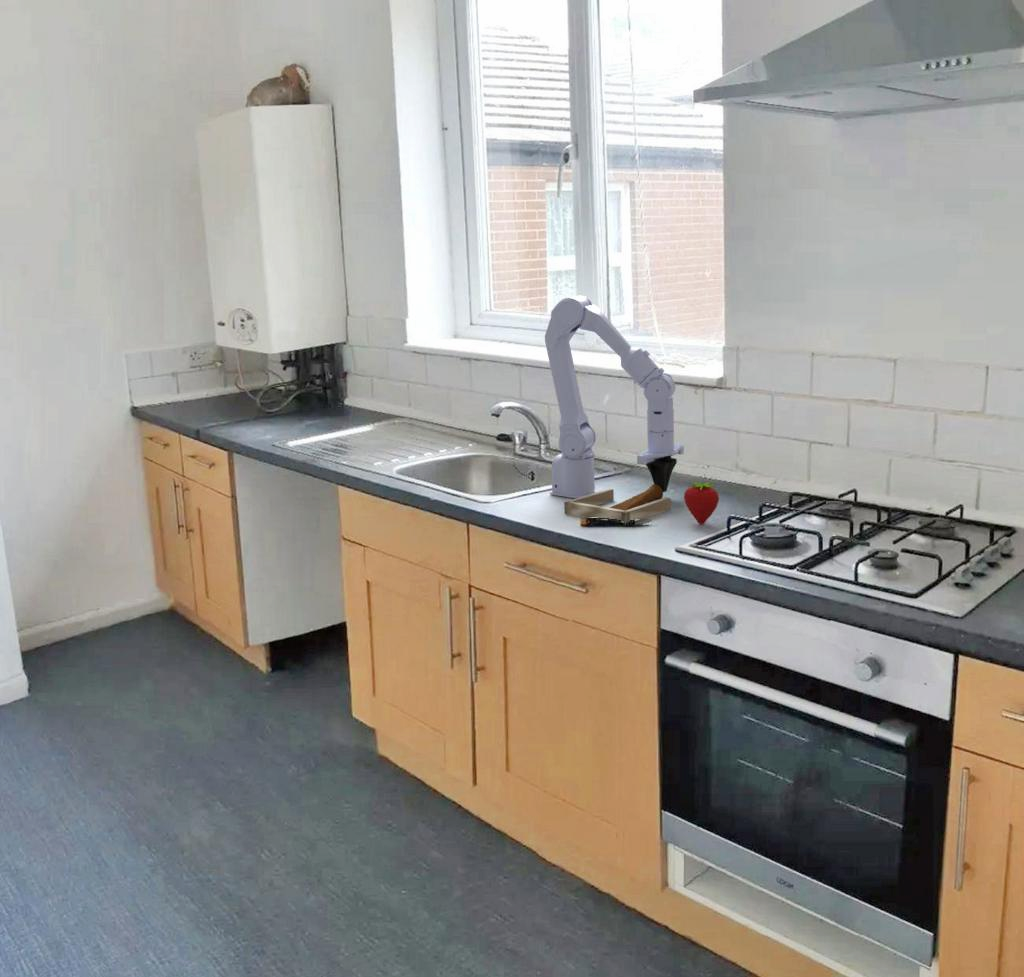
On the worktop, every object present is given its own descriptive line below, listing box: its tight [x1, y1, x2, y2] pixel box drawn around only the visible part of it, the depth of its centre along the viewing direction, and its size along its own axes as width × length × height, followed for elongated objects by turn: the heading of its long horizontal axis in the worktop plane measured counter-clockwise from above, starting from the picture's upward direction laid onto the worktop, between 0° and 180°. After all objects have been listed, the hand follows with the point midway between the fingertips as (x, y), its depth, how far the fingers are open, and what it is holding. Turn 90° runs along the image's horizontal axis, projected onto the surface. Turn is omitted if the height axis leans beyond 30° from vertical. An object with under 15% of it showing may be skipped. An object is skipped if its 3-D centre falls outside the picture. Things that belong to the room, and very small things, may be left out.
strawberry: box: [683, 474, 720, 525], centre depth 216 cm, size 6×8×10 cm
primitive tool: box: [608, 483, 664, 510], centre depth 233 cm, size 19×6×4 cm, turn 142°
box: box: [563, 488, 671, 525], centre depth 229 cm, size 16×15×2 cm
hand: (661, 491), depth 240 cm, fingers closed
